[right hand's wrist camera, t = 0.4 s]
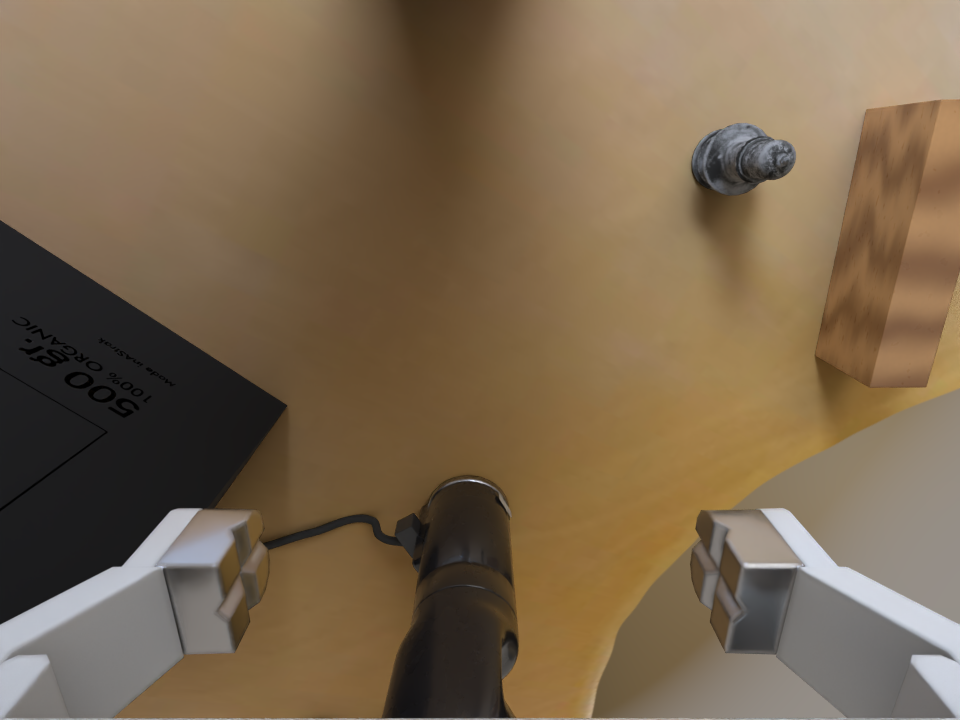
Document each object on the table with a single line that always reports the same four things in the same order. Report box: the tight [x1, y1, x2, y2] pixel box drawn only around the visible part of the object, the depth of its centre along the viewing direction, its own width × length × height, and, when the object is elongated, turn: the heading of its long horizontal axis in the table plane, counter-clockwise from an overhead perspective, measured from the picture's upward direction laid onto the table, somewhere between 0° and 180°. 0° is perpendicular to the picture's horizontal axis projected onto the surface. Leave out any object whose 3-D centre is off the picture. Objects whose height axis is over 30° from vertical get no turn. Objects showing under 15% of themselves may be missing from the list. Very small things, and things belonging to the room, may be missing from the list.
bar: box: [815, 100, 960, 388], centre depth 50 cm, size 23×5×9 cm, turn 0°
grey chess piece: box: [692, 123, 796, 195], centre depth 46 cm, size 6×6×12 cm
